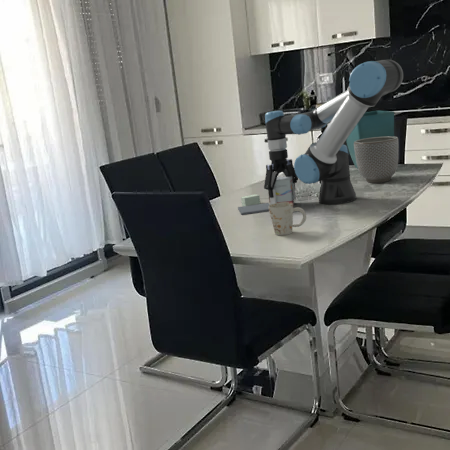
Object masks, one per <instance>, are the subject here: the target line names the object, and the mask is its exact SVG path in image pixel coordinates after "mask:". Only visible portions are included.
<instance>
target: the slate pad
mask: <svg viewBox="0 0 450 450" xmlns="http://www.w3.org/2000/svg"><path fill="white" fill-rule="evenodd" d="M269 205H270V202H264V203H260V204H256V205H249V206H242V205H241V206H238V207H237V209H238V211H239V214H240V215H242V216H243V215H251V214H258V213H264V212H269Z"/></svg>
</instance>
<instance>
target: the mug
mask: <svg viewBox="0 0 450 450" xmlns="http://www.w3.org/2000/svg"><path fill="white" fill-rule="evenodd" d="M294 212H299V213H301V215H302V219H301V221H300V223H298V224H297V223H296V224H293V221H294V220H293V219H294V218H293V216H294V214H293V213H294ZM268 213H269V215H270V219H271V223H272V224H271V225H272V228H273V231H274V235H277V236H286V235H291V234H292V233H293V228H298V227H301V226H303V225H304V224H305V222H306V220H307V213H306V211H305V210H304V209H303V208H302V207H297V206H296V207H294V205H293V203H291V202H280V203H274V204H271V203H270V204H269V211H268Z"/></svg>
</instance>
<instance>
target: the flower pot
mask: <svg viewBox="0 0 450 450" xmlns="http://www.w3.org/2000/svg"><path fill="white" fill-rule="evenodd" d="M384 136H395V111H390V110H372V111H366V112H365V113H364V115H363V116H362V118H361V119H360V120H359V122H358V123H357V125H356V126H355V128H354V129H353V131H352V132H351V133H350V135H349V136H348V138H347V139H346V141H345V142H346V146H347V149H348V153H349V156H350V157H351V160H352V162H353V164H354V165H353V166H354V167H355V169H356V168H357V163H356V157H355V150H354V141H356V140H360V139H365V138H372V137H384ZM356 170H358V168H357V169H356Z"/></svg>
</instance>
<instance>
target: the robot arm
mask: <svg viewBox="0 0 450 450" xmlns="http://www.w3.org/2000/svg"><path fill="white" fill-rule="evenodd" d="M403 80H404V71H403V69H402V66H401V65H400V64H399V63H398V62H396V61H395V60H392V59H381V60H375V61H374V60H371V61H365V62H363V63H360V64H358V65H356V67H354V68H353V69H352V71H351V73H350V74H349V79H348V82H349V84H348V87H347V90H344V91H343V92H342V93H340V94H338V95H336V96H334V97H333V98H331V99H329V100H328V101H326V102H323V103H322V104H321V105H319V106H318V107H316V108H314V109H313V110H311V111H307V112H303V113H298V114H291V115H285V114H284V111H283V110H274V111H268V112H266V113H265V114H264V118H265V120H264V121H265V129H266V139H267V148H268V150H269V151H268V158H269V160H270V161H271V162H270V164H266V165H265V169H266V172H265V178H264V185H263V189H264V190H267V191H268V192H269V194H268V199H269V198H270V202H269V204H270V205H271V204H274V203H277V202H276V193H275V189H274V186H275V182H276V179H277V177H279V175H280V173H283V174H284V177H291V176H292V181H293V193H294V200H295V199H297V197H296V184H297V183H298V181H300V182H302V183H303V184H307V185H310V184H316V183H318V182H321V185H320V189H319V192H318V193H319V194H318V203H320V204H324V205H340V204H345V203H351V202H354V201H356V200H357V193H356V191H355V188H354V186H353V184H352V181H351V172H350V171H351V170H350V163H349V161H350V159H349V156H350V153H349V149H348V146H347V144H345V142H346V139H347V138H348V136H349V135H350V133H351V132H352V131H353V129H354V128H355V126H356V125H357V123H358V122H359V120H360V119H361V118H362V116H363V115H364V113H365V112H367V110H368V109H369V108H371V107H373V108H374V107H375V106H376V105H377V103H378V102H379V101H380V99H381V97H384V96H385V95H387V94H390V93H392V92H395V91H396V90H397V89H398V88H400V87H401V85H402V82H403ZM327 124H328V125H327ZM326 126H327V127H326ZM323 128H325V129H324V130H323V132H322V134H321V136H320V137H319V138H318V140H317V141H315V142H312V143H311V144H310V145H309V147H307V150H306V151H305V153H302V154H300V155H298V156H297V157H296V158H295V160H294V163H293V159H292V158H288V157H289V155H288V149H287V147H288V144H287V135H298V136H299V135H305V134H308V133H309V132H311V131H315V130H320V129H323ZM293 164H294V165H293Z"/></svg>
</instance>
